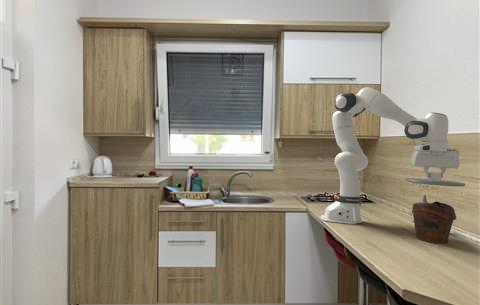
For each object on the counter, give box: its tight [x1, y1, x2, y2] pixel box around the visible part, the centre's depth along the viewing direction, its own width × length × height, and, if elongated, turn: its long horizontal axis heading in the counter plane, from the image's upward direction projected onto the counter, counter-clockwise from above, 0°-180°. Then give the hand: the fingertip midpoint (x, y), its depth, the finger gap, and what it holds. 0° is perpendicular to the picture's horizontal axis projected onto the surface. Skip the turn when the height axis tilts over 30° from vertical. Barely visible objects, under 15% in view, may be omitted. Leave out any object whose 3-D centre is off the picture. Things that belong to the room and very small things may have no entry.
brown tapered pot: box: [411, 201, 457, 244], centre depth 155 cm, size 18×20×18 cm
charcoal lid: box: [404, 171, 466, 187], centre depth 154 cm, size 24×24×5 cm
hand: (434, 177), depth 154 cm, fingers closed on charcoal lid, 4 cm apart
